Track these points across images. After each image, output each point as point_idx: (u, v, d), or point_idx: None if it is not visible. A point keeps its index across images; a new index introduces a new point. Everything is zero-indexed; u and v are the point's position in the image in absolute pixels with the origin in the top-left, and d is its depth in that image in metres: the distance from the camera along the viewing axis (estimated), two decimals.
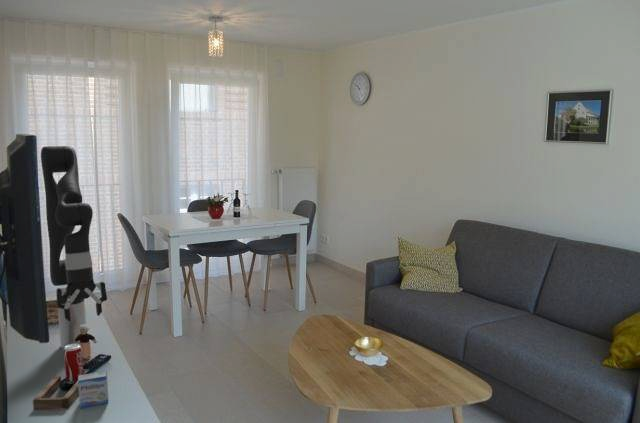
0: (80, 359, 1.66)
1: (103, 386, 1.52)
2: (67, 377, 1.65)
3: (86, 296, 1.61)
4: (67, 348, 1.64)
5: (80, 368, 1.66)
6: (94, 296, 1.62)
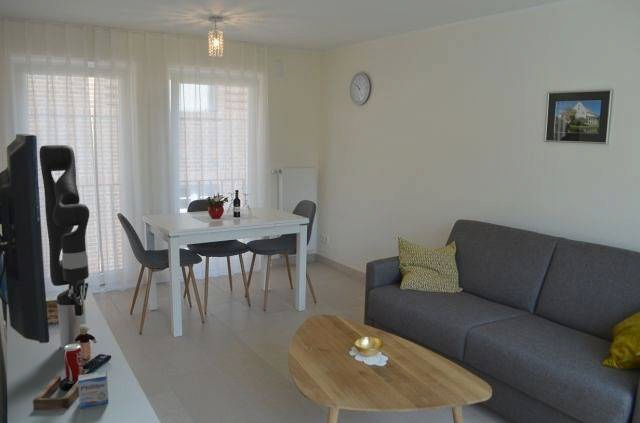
0: (80, 359, 1.66)
1: (103, 386, 1.52)
2: (67, 377, 1.65)
3: None
4: (67, 348, 1.64)
5: (80, 368, 1.66)
6: (84, 294, 1.71)
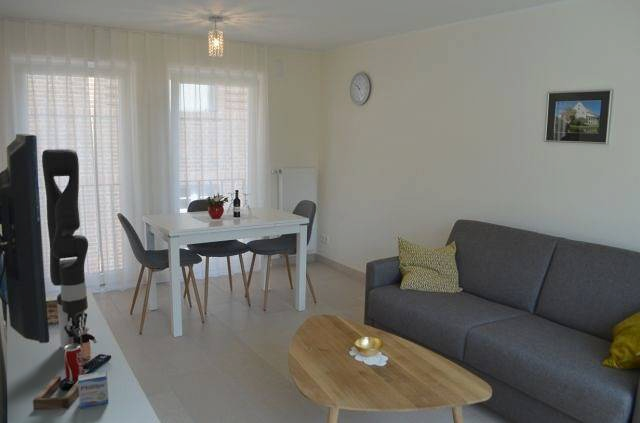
0: (80, 359, 1.66)
1: (103, 386, 1.52)
2: (67, 377, 1.65)
3: None
4: (67, 348, 1.64)
5: (80, 368, 1.66)
6: (83, 325, 1.70)
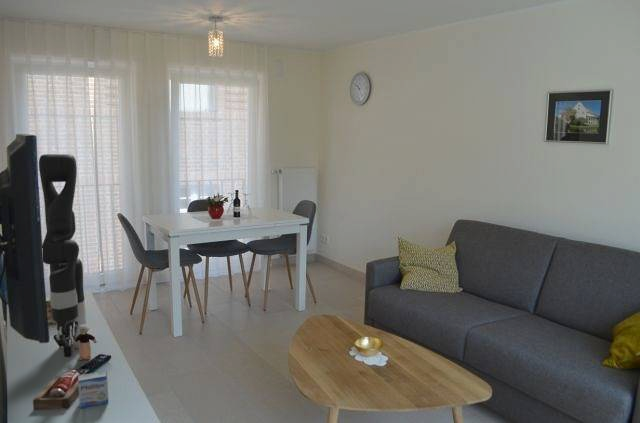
0: None
1: (103, 386, 1.52)
2: None
3: None
4: None
5: None
6: (73, 334, 1.63)
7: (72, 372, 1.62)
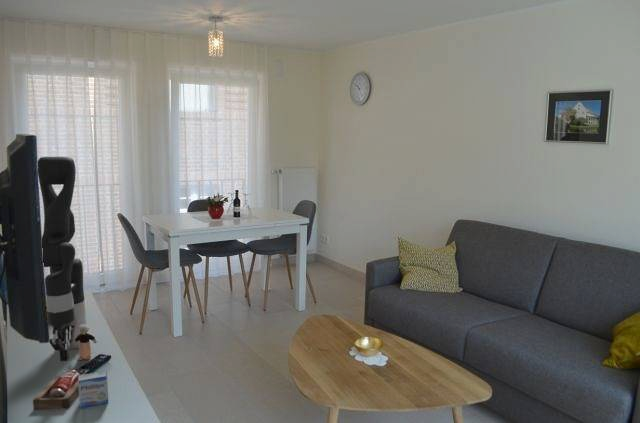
0: None
1: (103, 386, 1.52)
2: None
3: None
4: None
5: None
6: (70, 338, 1.60)
7: (72, 372, 1.62)
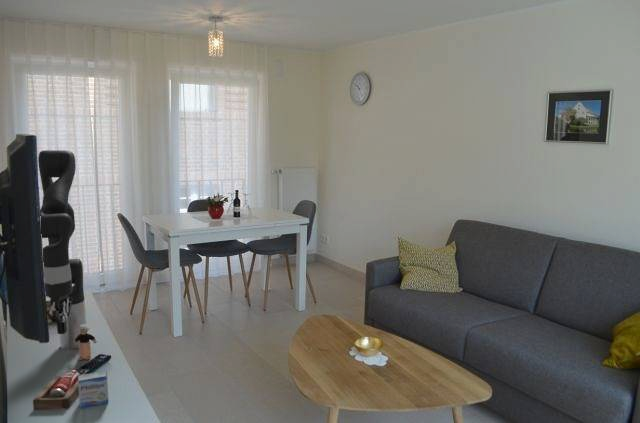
0: None
1: (103, 386, 1.52)
2: None
3: None
4: None
5: None
6: (67, 310, 1.59)
7: (72, 372, 1.62)
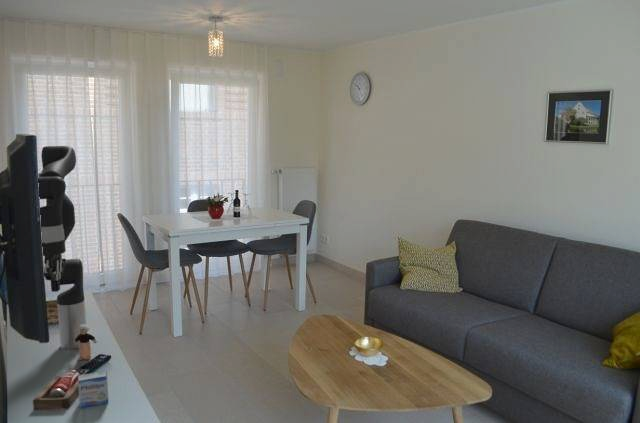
0: None
1: (103, 386, 1.52)
2: None
3: None
4: None
5: None
6: (61, 269, 1.68)
7: (72, 372, 1.62)
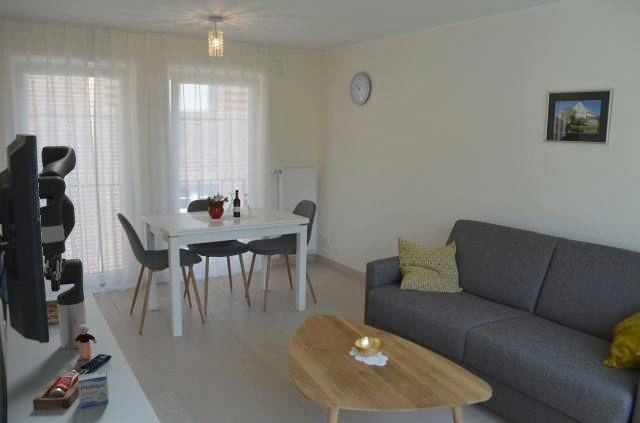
0: None
1: (103, 386, 1.52)
2: None
3: None
4: None
5: None
6: (61, 269, 1.68)
7: (72, 372, 1.62)
